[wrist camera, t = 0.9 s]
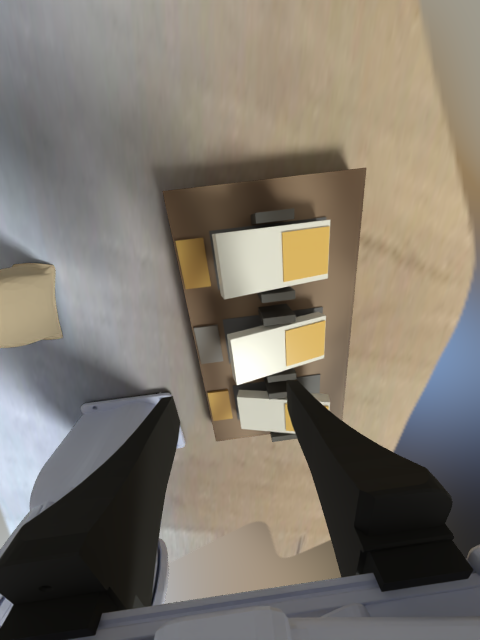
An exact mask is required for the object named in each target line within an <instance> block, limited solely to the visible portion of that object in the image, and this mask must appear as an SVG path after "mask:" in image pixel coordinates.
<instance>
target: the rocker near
mask: <svg viewBox="0 0 480 640" xmlns="http://www.w3.org/2000/svg"><path fill="white" fill-rule="evenodd" d="M212 238H213V245H214V252H215V258H216V265H217V272H218V279H219V285H220V292H221V296H222V297H223V298H224V299H229V298H234V297H239V296H244V295H249V294H254V293H259V292H263V291H268V290H273V289H278V288H283V287H288V286H293V285H298V284H302V283H307V282H312V281H317V280H322V279H327V278H328V261H329V239H330V220H323V221H314V222H306V223H298V224H290V225H282V226H274V227H266V228H258V229H249V230H241V231H233V232H225V233H217V234H212Z"/></svg>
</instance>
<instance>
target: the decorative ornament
mask: <svg viewBox="0 0 480 640" xmlns="http://www.w3.org/2000/svg"><path fill="white" fill-rule="evenodd" d="M60 338H63V335H62V331H61V328H60V323H59V319H58V314H57V308H56V301H55V267H54V265H49V264H39V263H23V264H14V265H13V266H12V267H11V268H5V269H0V348H10V347H19V346H24V345H28V344H31V343H34V342H37V341H39V340H52V339H60Z"/></svg>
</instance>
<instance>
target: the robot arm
mask: <svg viewBox="0 0 480 640" xmlns="http://www.w3.org/2000/svg"><path fill="white" fill-rule="evenodd" d="M286 382H287V409H288V412H289V416H290V419H291V423H292V426H293V429H294V431H295V434H296V436H297V438H298V441H299V443H300V446H301V448H302V451H303V453H304V456H305V458H306V460H307V463H308V465H309V468H310V471H311V474H312V477H313V480H314V483H315V487H316V490H317V493H318V496H319V500H320V503H321V506H322V510H323V513H324V516H325V520H326V523H327V527H328V530H329V534H330V537H331V541H332V544H333V548H334V551H335V555H336V559H337V562H338V566H339V570H340V573H341V578H335V579H329V580H322V581H315V582H308V583H301V584H295V585H288V586H281V587H275V588H268V589H261V590H255V591H248V592H241V593H235V594H229V595H221V596H215V597H209V598H202V599H195V600H188V601H181V602H175V603H168V604H164V602H165V597H166V591H167V584H168V574H169V568H168V567H169V566H168V553H167V548H166V545H165V542H164V541H163V540H162V539H159V532H160V527H161V522H162V521H161V518H162V511H163V505H164V499H165V493H166V488H167V484H168V480H169V476H170V472H171V468H172V464H173V460H174V456H175V452H176V448H182V447H184V446H185V439H184V436H183V432H182V429H181V426H180V420H179V416H178V413H177V410H176V406H175V403H174V399H173V396H172V395H171V394H170V393H160V394H152V395H145V396H137V397H129V398H122V399H114V400H107V401H99V402H92V403H85V404H83V405H82V406H81V408H80V409H81V411H82V413H83V415H82V416H81V417H80V419H79V420H78V421H77V423H76V424H75V425H74V427H73V428H72V429H71V431H70V432H69V433H68V434H67V436H66V437H65V438H64V440H63V441H62V442H61V444H60V445H59V446H58V448H57V449H56V450H55V451H54V453H53V454H52V455H51V457H50V458H49V459H48V461H47V462H46V463H45V465H44V466H43V468H42V469H41V471H40V473H39V475H38V477H37V479H36V481H35V484H34V487H33V490H32V493H31V498H30V512H29V513H28V514H27V515H26V516H25V517H24V519H23V520H22V521H21V523H20V524H19V525H18V526H17V528H16V529H15V530H14V532H13V533H12V534H11V536H10V537H9V538H8V540H7V541H6V542H5V544H4V545H3V547H2V548H1V549H0V640H480V545H478V546H476V547H474V548H472V549H471V550H470V552H469V554H468V559H465V557H464V556H463V555H462V553H461V552H460V550H459V549H458V548H457V546H456V545H455V544H454V542H453V541H452V540H453V539H454V536H453V534H452V532H451V531H450V530H449V528H448V527H447V526H446V524H445V522H446V520H447V517H448V515H449V513H450V510H451V507H452V498H451V496H450V494H449V493H448V492H447V491H446V490H445V489H444V487H443V486H442V485H441V484H440V483H439V481H438V480H437V479H436V478H435V477H434V476H433V475H432V474H431V473H430V472H429V471H428V470H427V469H426V468H425V467H422V466H420V465H418V464H416V463H414V462H412V461H410V460H408V459H406V458H403V457H401V456H399V455H397V454H395V453H393V452H391V451H390V450H388V449H386V448H384V447H382V446H380V445H379V444H377V443H375V442H373V441H372V440H370V439H368V438H367V437H365V436H364V435H362V434H360V433H359V432H357V431H356V430H354V429H353V428H351V427H350V426H348V425H347V424H346V423H344V422H343V421H342V420H340V419H339V418H338V417H337V416H335V415H334V414H333V413H332V412H330V411H329V410H328V409H327V408H326V407H325V406H323V405H322V404H321V403H320V402H319V401H318V400H317V399H316V398H315V397H314V396H313V395H312V394H311V393H310V392H309V391H308V390H307V389H306V388H305V387H304V386H303V385H302V384H301V383H300V382H299V381H298V380H291V381H286ZM160 397H162V398H160ZM95 406H96V407H95Z"/></svg>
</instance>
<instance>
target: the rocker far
mask: <svg viewBox="0 0 480 640" xmlns="http://www.w3.org/2000/svg"><path fill="white" fill-rule="evenodd" d="M311 394H312V395H313V396H314V397H315V398H316V399H317V400H318V401H319V402H320V403H321V404H322V405H323V406H325V407H326V408H327V409H328V410H329V411H330V400H329V396H328V394H317V393H311ZM237 402H238V409H239V416H240V422H241V429H248V430H259V431H271V432H282V433H293V434H295V431H294V429H293V426H292V423H291V419H290V416H289V412H288V409H287V397H285V398H278V399H270V400H269V397H268V393H267V391H255V390H239V391H238V395H237Z"/></svg>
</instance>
